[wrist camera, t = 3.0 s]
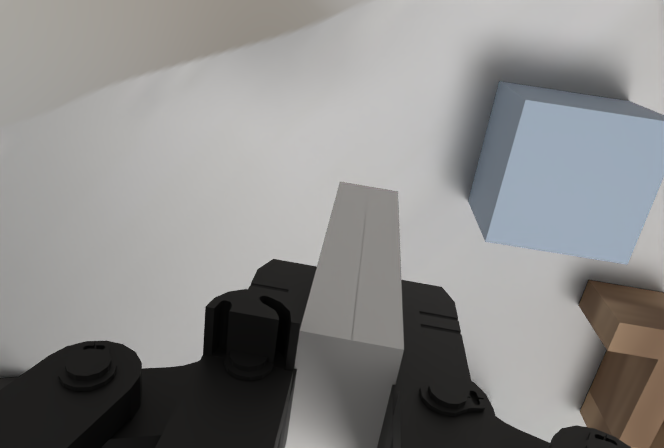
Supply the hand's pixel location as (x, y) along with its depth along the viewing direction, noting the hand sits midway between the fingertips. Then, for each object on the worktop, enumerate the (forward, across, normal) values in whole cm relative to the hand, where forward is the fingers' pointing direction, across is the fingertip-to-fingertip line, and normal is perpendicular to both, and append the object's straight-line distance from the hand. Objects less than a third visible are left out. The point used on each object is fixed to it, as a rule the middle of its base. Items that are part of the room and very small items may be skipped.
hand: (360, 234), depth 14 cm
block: (+13, +8, 0) cm, 16 cm away
